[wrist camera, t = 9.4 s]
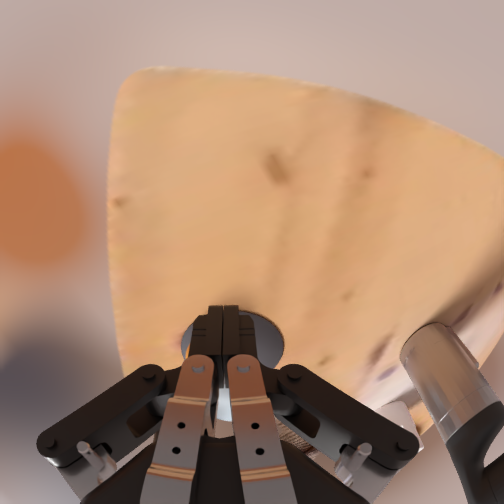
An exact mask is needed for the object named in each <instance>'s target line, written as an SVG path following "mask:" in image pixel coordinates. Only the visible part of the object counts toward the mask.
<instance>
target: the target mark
mask: <svg viewBox="0 0 504 504" xmlns="http://www.w3.org/2000/svg"><path fill="white" fill-rule="evenodd" d="M239 315H250V317H251V318H252V319H253V321H254V328H255V337H256V347H257V356H258V359H259V361H260V362H261V363H262V364H263V365H265V366H266V367H269V368H272V369H273V368H274V367H275V366H276V365H277V364H278V362H279V361H280V359H281V357H282V353H283V341H282V337H281V335H280V333H279V331H278V330H277V329H276V328H275V326H274V325H273V324H271V323H270V322H269V321H267V320H266V319H264V318H262V317H260V316H258V315H255V314H252V313H248V312H243V311H239ZM192 330H193V323H192V324H191V325H190V326H189V327H188V329H187V330H186V331H185V333H184V335H183V338H182V343H181V350H182V354H183V357H184V359H186V351H187V348H188V346H189V344H190V341H191V336H192ZM224 383H225V377H224Z"/></svg>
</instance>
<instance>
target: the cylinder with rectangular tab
mask: <svg viewBox="0 0 504 504" xmlns="http://www.w3.org/2000/svg"><path fill="white" fill-rule="evenodd" d="M375 412H376V413H378V414H380V415H381V416H383V417H385V418H387V419H388V420H390V421H392V422H394V423H395V424H397V425H399V426H401V427H402V428H404V429H406V430H408V431H409V432H411V433H413V434H414V435H415V436H416V437H417V438H418V440H419V444H420V447H419V451H420V450H422V449H423V448H424V446H423V444H422V442H421V439H420V437H419V435H418V433H417V431H416V429H415V427H416V425H415V423H414V421H413V419H412V417H411V415H410V413H409V411H408V409H407V407H406V404H405V403H404V402H402V401H396V402H392V403H388V404H386V405H384V406H382V407H380V408H378V409H377V410H375ZM419 451H418V452H419Z"/></svg>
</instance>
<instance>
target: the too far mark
mask: <svg viewBox="0 0 504 504" xmlns="http://www.w3.org/2000/svg"><path fill="white" fill-rule="evenodd" d="M217 419H220V420H225V421H232V417H231V408H230V398H229V388H225V383H224V388H222V389H219V398H218V410H217Z"/></svg>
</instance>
